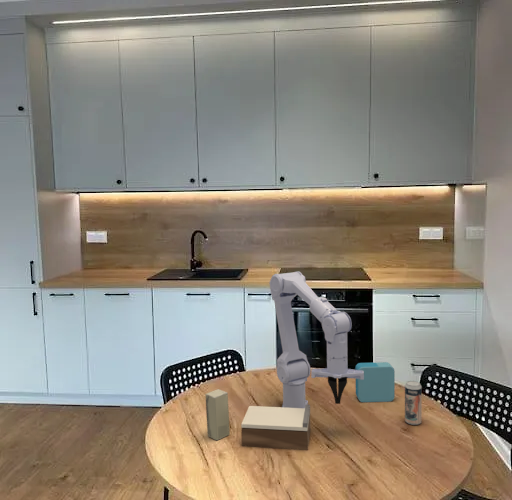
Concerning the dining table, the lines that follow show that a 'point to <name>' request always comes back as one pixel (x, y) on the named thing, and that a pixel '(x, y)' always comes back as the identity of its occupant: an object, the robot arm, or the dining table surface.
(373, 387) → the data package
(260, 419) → the lid
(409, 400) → the beer can
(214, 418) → the box
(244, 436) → the walnut box
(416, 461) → the dining table surface
